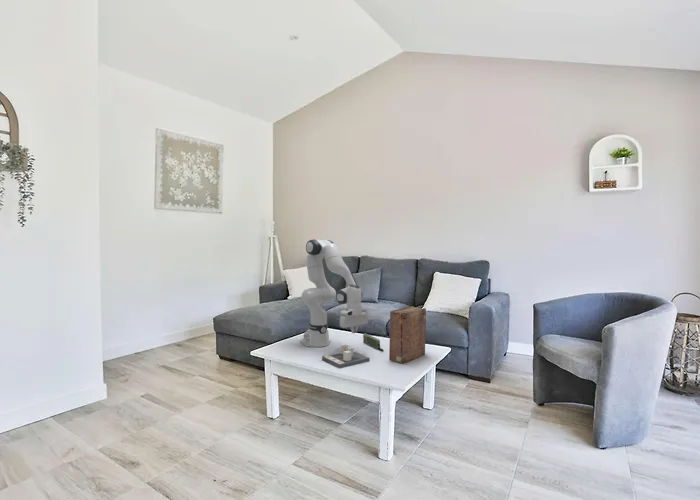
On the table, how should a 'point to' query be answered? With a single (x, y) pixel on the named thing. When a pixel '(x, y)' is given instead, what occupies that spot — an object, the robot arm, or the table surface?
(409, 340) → the book
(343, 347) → the tab inner
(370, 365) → the table surface
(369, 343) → the handheld radio
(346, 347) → the tab middle
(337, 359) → the switch panel
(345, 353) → the block
